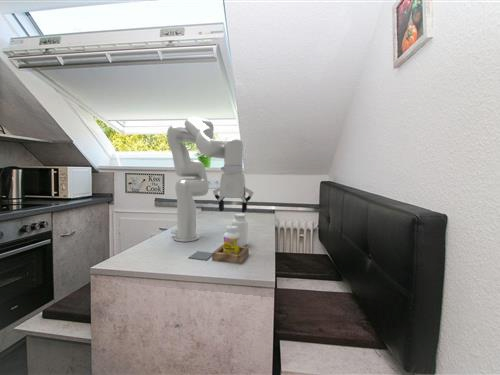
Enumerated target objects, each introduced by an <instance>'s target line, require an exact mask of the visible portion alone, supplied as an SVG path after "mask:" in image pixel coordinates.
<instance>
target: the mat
mask: <svg viewBox="0 0 500 375" xmlns="http://www.w3.org/2000/svg"><path fill="white" fill-rule="evenodd" d="M212 253H213V252H207V251H199V250H197V251H196V252H193V254H191V255H189V256H188V259H190V260H191V259H192V260H199V261H208V260H210V259H211V258H212Z"/></svg>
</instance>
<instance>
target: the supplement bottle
mask: <svg viewBox="0 0 500 375" xmlns="http://www.w3.org/2000/svg"><path fill="white" fill-rule="evenodd" d="M237 230H238V227H237V226H232V225H227V226H226V232H224V233H223V244H224V246H223V253H228V254H237V255H239V241H240V235H239V233H238V232H237Z"/></svg>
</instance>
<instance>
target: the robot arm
mask: <svg viewBox="0 0 500 375" xmlns="http://www.w3.org/2000/svg"><path fill="white" fill-rule="evenodd" d="M214 128H215V127H214V125H213V123H212V121H211V120H209V119H205V118H200V117H196V116H192V117H191V116H190V117H188V118H186V120H185V121H184V124H172V125H170V126H169V127H168V128H167V131H166V132H167V133H166V140H167V144H168V146H169V149H170V151H171V154H172V161H173V165H174V171H175V174H176V175H177V176H178V177H180V178H181V179H179V180H177V181H176V183H175V186H174V187H175V193H176V203H177V204H176V206H177V209H176V212H177V215H176V216H177V218H176V219H177V220H176V225H177V226H176V229H171V232H170V234H171V235H174V236H173V240H174V241H176V242H180V243H182V242H183V243H185V242H194V241H197V240H198V239H199V238H200V236H199V234H197V204H196V201H195V199H194V198H193V197H203V196H206V195H207V194H208V193H209V189H210V188H209V180H208V174H207V172H206V167H205V164H204V163H203V162H202V161H201V160H197V159H191V157H190V153H189V150H188V148H187V147H186V145H185V144H183V142H184V143H190V144H195V145H196V148H197V150H198V151H199V152H200V153H201V154H202V155H203V156H205V157H207V158H212V159H223V166H221V167H220V170H221V171H222V172H223V173H221V176H220V182H219V183H220V184H219V187H218V188H215V189H214V190H212V193H213V196H214V197H215V199H216V200H217V202H218V209H219V212H222V211H224V210H225V201H224V199H226V198H227V199H228V198H229V199H241V201H242V203H241V214H244V213H245V212H246V211H247V209H248V201H250V200H251V199H252V197H253V195H254V194H255V192H254V191H252V189H248V188H247V186H246V179H245V174H244V173H243V164H244V163H243V160H244V159H243V157H244V156H243V155H244V153H243V152H244V148H243V147H244V145H243V141H242V140H241V139H237V138H236V139H235V138H229V139H226V140H219V139H213V137H214ZM246 193H248V196H247V197H246Z"/></svg>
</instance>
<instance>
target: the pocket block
mask: <svg viewBox="0 0 500 375" xmlns="http://www.w3.org/2000/svg"><path fill="white" fill-rule="evenodd" d="M223 246H224V243H223V244H222V245H221V246H219V247H218V248H216V249H215V250H214V251H213V252H211V253H212V256H211V261H214V262H223V263H230V264H239V265H240V264H242V263H243V261H245V260H246V258H247V257H248V256H249V254H250V253H249V250H250V247H249V246H239V255H237V254H228V253H223Z"/></svg>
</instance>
